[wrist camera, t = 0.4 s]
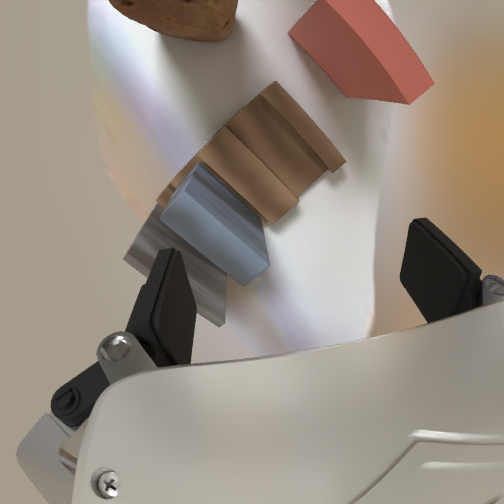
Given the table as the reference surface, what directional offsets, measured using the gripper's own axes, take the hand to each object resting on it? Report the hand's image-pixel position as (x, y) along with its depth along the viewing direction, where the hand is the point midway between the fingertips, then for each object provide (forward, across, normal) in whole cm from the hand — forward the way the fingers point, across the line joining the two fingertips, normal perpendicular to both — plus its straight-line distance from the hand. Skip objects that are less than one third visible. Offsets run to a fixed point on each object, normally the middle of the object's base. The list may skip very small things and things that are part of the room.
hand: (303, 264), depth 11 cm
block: (+30, +6, -18) cm, 36 cm away
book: (+30, -11, -11) cm, 34 cm away
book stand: (+30, +1, +5) cm, 30 cm away
